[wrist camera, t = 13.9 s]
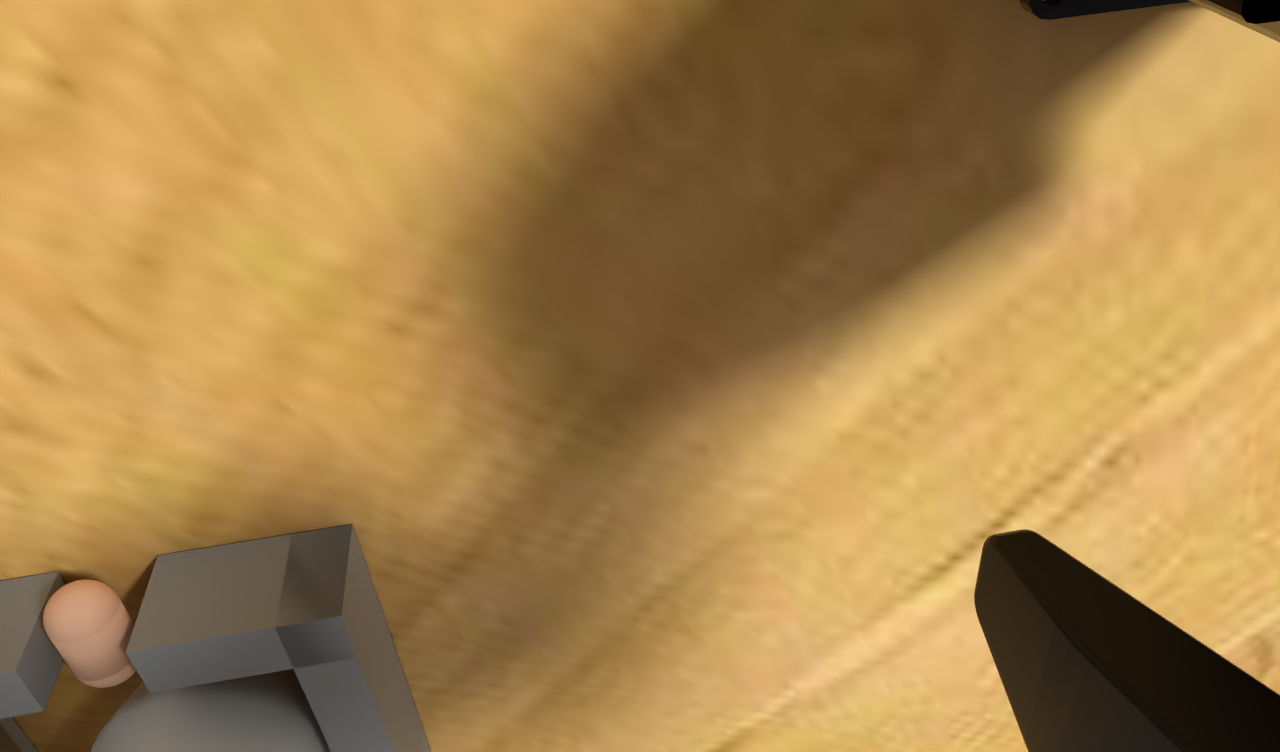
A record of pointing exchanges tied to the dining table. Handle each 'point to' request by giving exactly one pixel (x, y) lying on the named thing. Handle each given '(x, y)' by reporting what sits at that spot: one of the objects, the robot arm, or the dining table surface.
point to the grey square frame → (241, 635)
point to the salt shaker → (217, 718)
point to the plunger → (91, 632)
